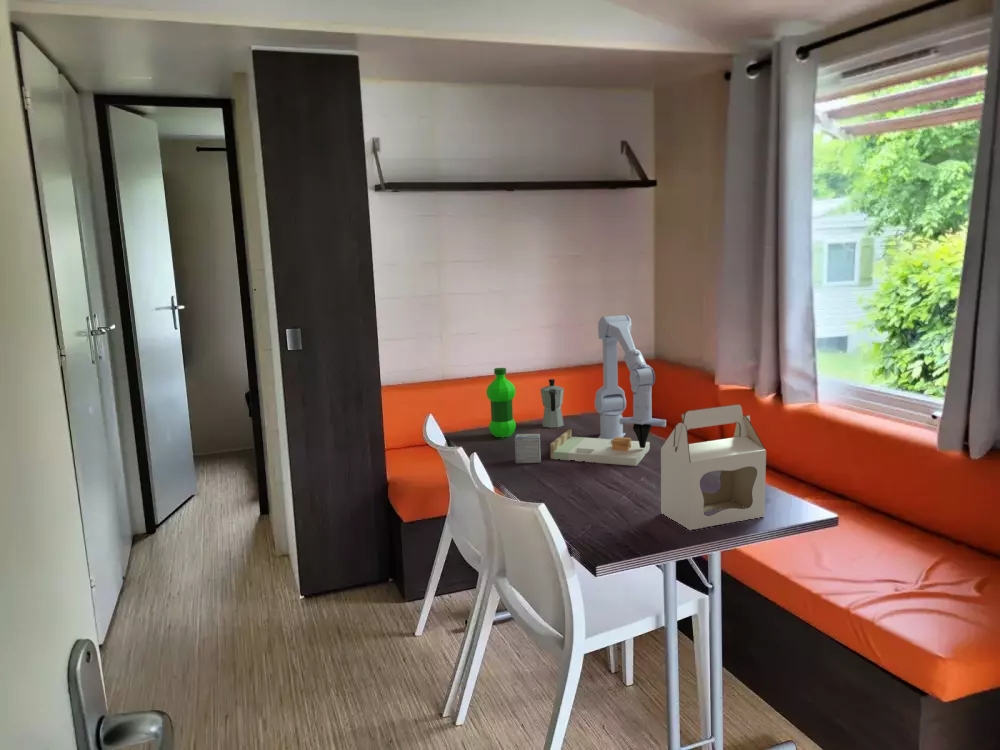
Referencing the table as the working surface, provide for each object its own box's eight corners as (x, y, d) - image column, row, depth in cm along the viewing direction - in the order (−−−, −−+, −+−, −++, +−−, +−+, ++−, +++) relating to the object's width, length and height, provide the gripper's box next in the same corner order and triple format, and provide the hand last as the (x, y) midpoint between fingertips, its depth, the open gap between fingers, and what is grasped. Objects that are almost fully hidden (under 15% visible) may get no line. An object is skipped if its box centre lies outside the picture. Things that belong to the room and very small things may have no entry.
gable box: (733, 500, 200) (734, 397, 195) (765, 517, 188) (768, 408, 183) (659, 514, 193) (659, 407, 188) (688, 532, 181) (689, 418, 176)
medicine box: (541, 459, 244) (540, 433, 242) (540, 463, 240) (539, 437, 238) (516, 459, 245) (515, 433, 243) (515, 463, 240) (514, 437, 239)
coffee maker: (541, 422, 292) (539, 376, 289) (563, 421, 292) (562, 375, 288) (542, 432, 277) (540, 384, 274) (566, 431, 277) (564, 383, 274)
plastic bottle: (487, 440, 269) (484, 371, 264) (491, 432, 279) (488, 366, 275) (515, 440, 268) (512, 371, 263) (518, 432, 278) (515, 365, 273)
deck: (569, 443, 261) (568, 429, 260) (649, 449, 250) (649, 434, 249) (550, 458, 244) (550, 443, 243) (636, 466, 233) (636, 450, 232)
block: (615, 445, 247) (615, 436, 246) (631, 446, 245) (630, 437, 244) (612, 449, 242) (612, 440, 242) (627, 450, 241) (627, 441, 240)
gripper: (616, 407, 237) (617, 448, 240) (662, 409, 232) (662, 452, 234) (622, 402, 244) (622, 442, 246) (667, 404, 238) (667, 446, 241)
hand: (642, 447), depth 241 cm, fingers closed
